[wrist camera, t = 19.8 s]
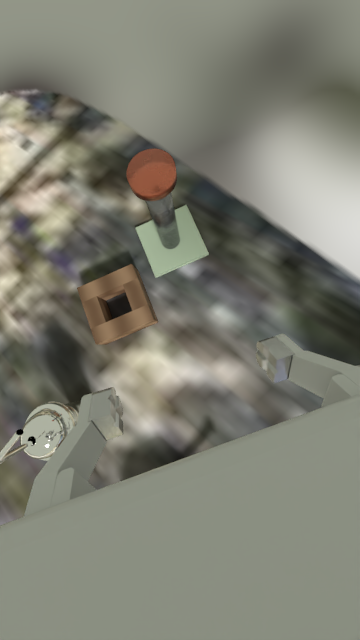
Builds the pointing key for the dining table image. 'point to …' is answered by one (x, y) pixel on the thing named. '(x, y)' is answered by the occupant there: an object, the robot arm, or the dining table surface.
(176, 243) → the peg
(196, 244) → the mat
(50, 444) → the cup with straw
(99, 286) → the collar
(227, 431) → the dining table surface
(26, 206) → the dining table surface
